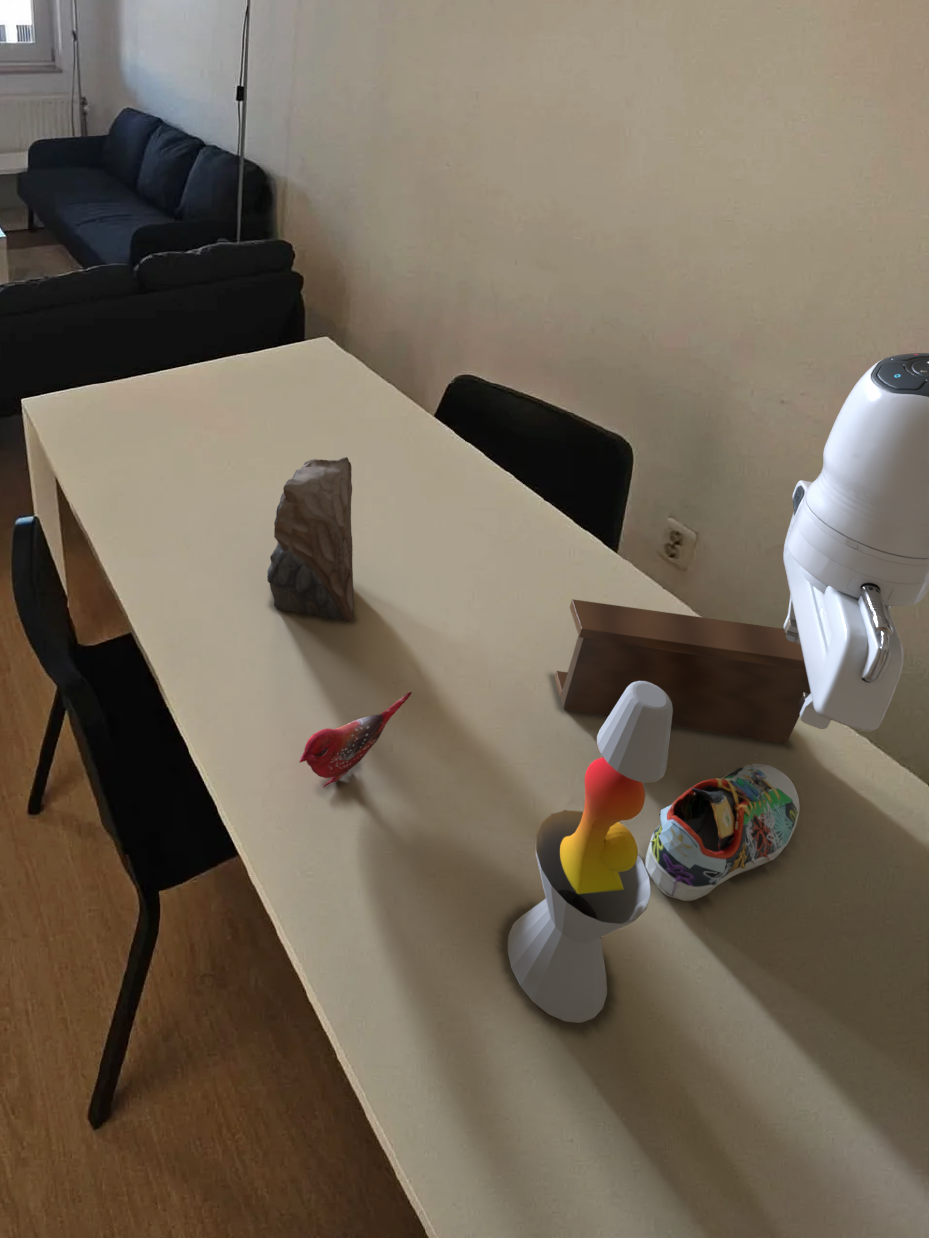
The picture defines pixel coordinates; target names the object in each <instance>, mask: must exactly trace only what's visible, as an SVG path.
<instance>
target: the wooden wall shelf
mask: <svg viewBox="0 0 929 1238" xmlns="http://www.w3.org/2000/svg"><path fill="white" fill-rule="evenodd" d="M569 605H570V606H569V609H570V613H571V616H572V619H573V622H574V625H575V628H576V631H577V634H578V635H577V639H576V641H575V646H574V649H573V653H572V657H571V659H570V663H569V665H568V669H567V671H562V670H556V671H555V674H554V681H555V684H556V688H557V691H558V696H559V698H560V699H559V700H560V702H561V707H562V709H564V710H571V711H576V712H584V713H589V714H597V715H603V716H607V717H608V716H609V715H610V713H611V712H612V710H613V709H614V707H615V705H616V704H617V702H618V701H619V699H620V698H621V696H622V694H623V693H624V691H625V690H626V688H627V687H628V686H629V685H630V684H631V683H633V682H637V681H646V682H649V683H652V684H654V685H656V686H658V687H659V688H661V689H662V690H663V691H664V692H665V693H666V694H667V695H668V697H669V698H670V700H671V702H672V707H673V714H672V722H671V727H672V726H673V727H677V728H685V729H691V730H697V731H704V732H710V733H716V734H723V735H728V736H729V735H730V736H736V737H740V738H748V739H754V740H761V741H766V742H767V741H768V742H773V743H780V744H784V745H785V744H788V741H789V739H790V738H791V736H792V733H793V731H794V729H795V728H796V727H795V726H796V725H797V723H798V721H799V718H800V712H799V706H798V704H799V702H800V701H801V697H802V695H803V693H804V692H805V693H807V694H811V691H810V686H809V681H808V676H807V671H806V667H805V662H804V657H803V652H802V647H801V645H800V644H798V643H796V642H791V641H789V640H787V639H786V636H785V631H784V628H781V627H775V626H768V625H767V626H766V625H761V624H753V623H746V622H738V621H732V620H731V621H730V620H724V619H717V618H711V617H710V618H709V617H702V616H695V615H687V614H682V613H681V614H680V613H673V612H666V611H660V610H651V609H645V608H638V607H631V606H624V605H616V604H609V603H602V602H595V601H588V600H587V601H586V600H581V599H579V600H578V599H575V598H574V599H573V598H572V599H571V602H570V604H569Z"/></svg>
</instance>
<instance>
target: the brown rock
mask: <svg viewBox="0 0 929 1238" xmlns="http://www.w3.org/2000/svg"><path fill="white" fill-rule="evenodd" d="M282 487H283V488H282V489H283V492H282V494H281V496H280V498H279V499H280V500H279V503H278V505H277V507H276V511H275V512H276V513H275V519H274V524H273V525H274V529H273V530H274V531H273V537H274V539H275V540H276V542H277V544H276V546H275V549H274V550H273V552H272V554H271V555H270V557H269V559H270V564H269V567H268V569H267V576H266V577H267V582H268V583H269V587H270V592H271V594H272V597H273V607H275V608H276V609H278V610H280V611H284V612H296V613H297V612H298V613H299V614H301V615H312V616H320V617H323V618H325V619H329V620H344V621H353V615H352V613H353V610H354V609H355V593H354V573H353V570H354V569H353V535H352V533H353V532H352V495H353V483H352V463H351V461H350V460H349V457H348V456H344V457H341V458H339V459H336V460H334V459H317V458H313V459H309V460H306V461H305V462H304V463H303V465H302V467H300V468H298V469H296V470H295V472H294V474H293V476H292V477H291V478H288V479H287V480H286V481H285V484H284V486H282Z"/></svg>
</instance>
